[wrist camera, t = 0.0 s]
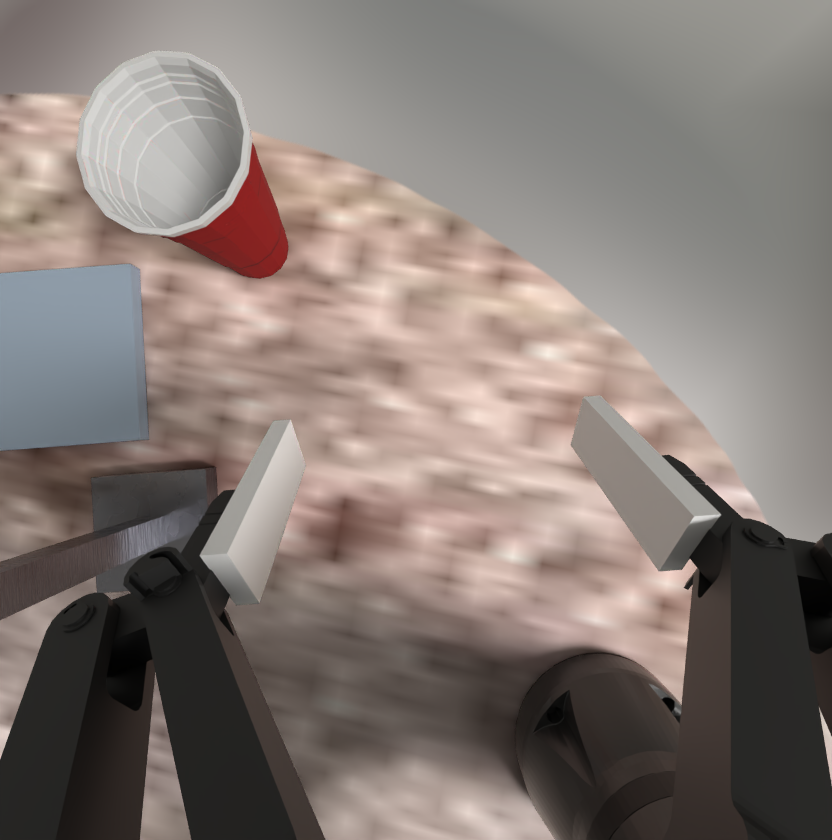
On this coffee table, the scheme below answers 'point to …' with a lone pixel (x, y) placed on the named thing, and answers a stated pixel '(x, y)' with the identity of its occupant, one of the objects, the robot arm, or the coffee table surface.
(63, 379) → the mat
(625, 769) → the robot arm
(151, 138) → the plastic cup
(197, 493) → the stand
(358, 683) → the coffee table surface
